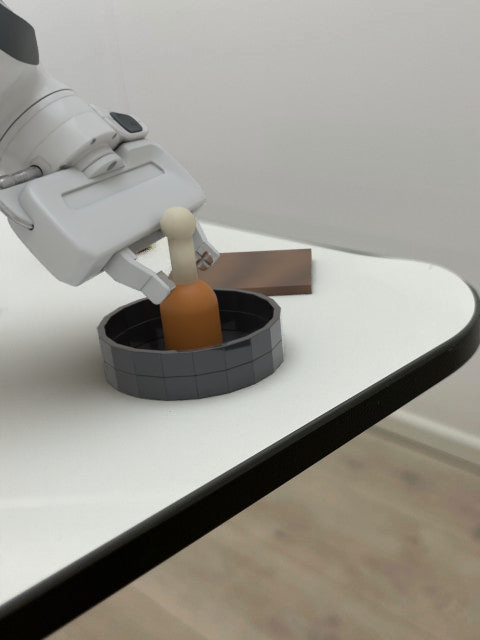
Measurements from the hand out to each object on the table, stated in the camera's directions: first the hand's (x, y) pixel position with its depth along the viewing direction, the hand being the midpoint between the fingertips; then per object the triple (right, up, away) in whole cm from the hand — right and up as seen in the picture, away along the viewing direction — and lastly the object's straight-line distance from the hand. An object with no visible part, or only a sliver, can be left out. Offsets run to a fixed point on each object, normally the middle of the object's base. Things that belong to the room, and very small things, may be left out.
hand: (191, 279), depth 63 cm
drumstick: (0, -7, +3) cm, 7 cm away
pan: (0, -7, +3) cm, 8 cm away
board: (0, +2, +24) cm, 25 cm away
